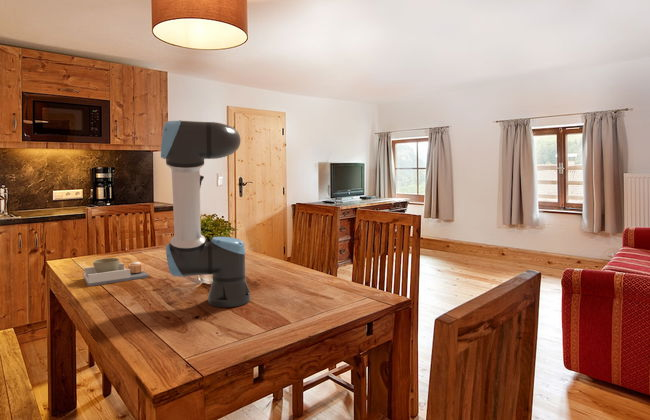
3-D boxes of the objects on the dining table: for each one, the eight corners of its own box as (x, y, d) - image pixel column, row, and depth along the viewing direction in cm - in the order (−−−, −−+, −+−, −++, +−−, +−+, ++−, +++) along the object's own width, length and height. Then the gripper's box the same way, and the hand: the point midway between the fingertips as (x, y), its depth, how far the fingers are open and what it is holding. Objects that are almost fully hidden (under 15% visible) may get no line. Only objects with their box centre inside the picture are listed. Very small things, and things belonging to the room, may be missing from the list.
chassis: (148, 277, 178) (147, 267, 178) (88, 286, 164) (87, 275, 164) (140, 270, 189) (140, 260, 189) (83, 278, 176) (83, 267, 175)
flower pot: (124, 273, 180) (123, 257, 179) (112, 280, 170) (111, 263, 169) (102, 273, 180) (101, 257, 179) (88, 279, 170) (87, 263, 169)
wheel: (145, 271, 181) (145, 263, 181) (130, 273, 177) (130, 265, 177) (142, 268, 186) (141, 260, 185) (127, 270, 182) (127, 262, 182)
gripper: (199, 160, 181) (200, 212, 183) (169, 159, 173) (171, 214, 175) (206, 159, 175) (207, 214, 177) (175, 159, 167) (177, 216, 169)
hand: (189, 214), depth 176 cm, fingers closed
